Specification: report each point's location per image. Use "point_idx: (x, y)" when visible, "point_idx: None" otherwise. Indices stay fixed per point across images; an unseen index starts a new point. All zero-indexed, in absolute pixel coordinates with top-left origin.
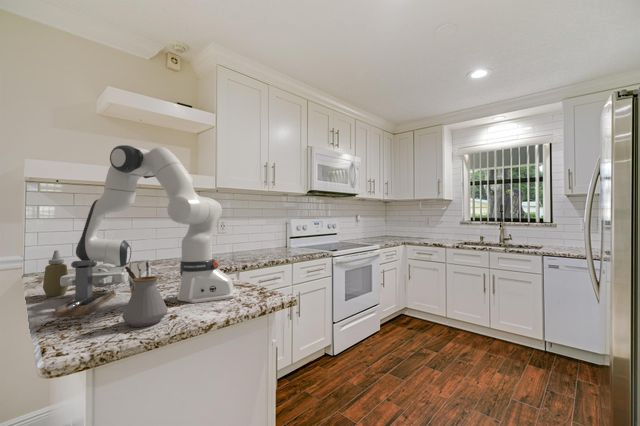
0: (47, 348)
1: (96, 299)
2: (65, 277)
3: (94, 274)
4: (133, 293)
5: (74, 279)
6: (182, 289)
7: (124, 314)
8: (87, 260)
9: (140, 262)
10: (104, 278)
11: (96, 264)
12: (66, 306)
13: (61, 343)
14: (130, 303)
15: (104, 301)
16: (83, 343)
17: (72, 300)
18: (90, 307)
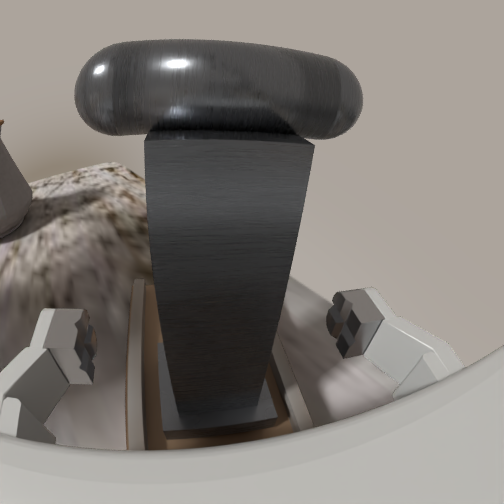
0: (132, 176)
1: (137, 390)
2: (498, 348)
3: (240, 473)
4: (6, 149)
5: (425, 380)
6: None
7: (28, 185)
8: (187, 40)
9: None
10: (40, 317)
11: (79, 106)
12: None
13: (120, 183)
14: (16, 166)
15: None
16: (89, 181)
17: (297, 394)
18: (130, 310)
